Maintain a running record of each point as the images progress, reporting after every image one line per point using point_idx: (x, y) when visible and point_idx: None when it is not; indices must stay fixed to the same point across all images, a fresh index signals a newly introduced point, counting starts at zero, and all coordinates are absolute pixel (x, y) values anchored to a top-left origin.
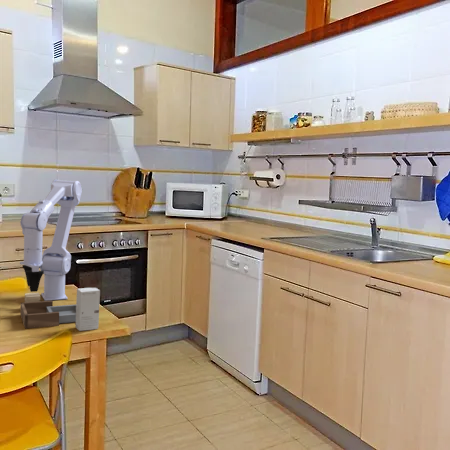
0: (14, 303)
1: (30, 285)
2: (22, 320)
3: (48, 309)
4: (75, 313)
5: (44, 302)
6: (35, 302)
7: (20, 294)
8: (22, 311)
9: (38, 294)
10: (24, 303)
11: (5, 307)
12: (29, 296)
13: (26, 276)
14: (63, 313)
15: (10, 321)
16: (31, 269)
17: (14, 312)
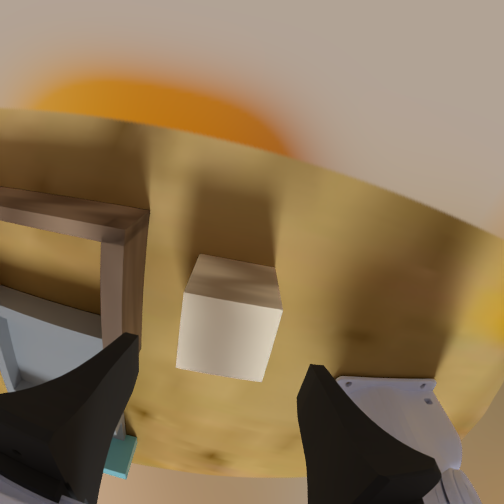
0: (384, 244)
1: (95, 359)
2: (53, 195)
3: (60, 329)
4: (8, 376)
5: (104, 347)
6: (103, 308)
7: (487, 307)
8: (32, 205)
9: (219, 370)
10: (101, 246)
11: (335, 177)
12: (189, 313)
13: (337, 414)
14: (72, 365)
15: (67, 141)
16: (330, 496)
17: (209, 193)
